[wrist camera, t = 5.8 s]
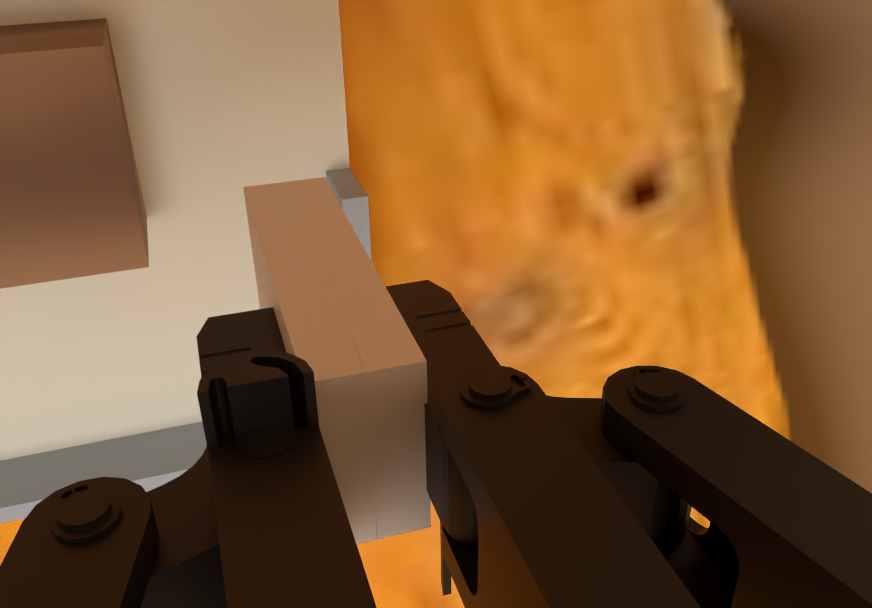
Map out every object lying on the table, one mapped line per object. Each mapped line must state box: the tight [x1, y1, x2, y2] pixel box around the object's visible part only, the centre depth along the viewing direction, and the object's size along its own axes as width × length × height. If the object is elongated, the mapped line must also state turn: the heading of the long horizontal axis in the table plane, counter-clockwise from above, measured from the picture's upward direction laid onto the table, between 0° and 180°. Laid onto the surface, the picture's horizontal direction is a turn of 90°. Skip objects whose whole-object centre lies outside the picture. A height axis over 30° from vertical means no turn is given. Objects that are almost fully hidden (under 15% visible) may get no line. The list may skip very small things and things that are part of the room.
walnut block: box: [0, 18, 149, 289], centre depth 22 cm, size 6×6×4 cm
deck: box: [0, 0, 372, 523], centre depth 23 cm, size 27×19×5 cm
